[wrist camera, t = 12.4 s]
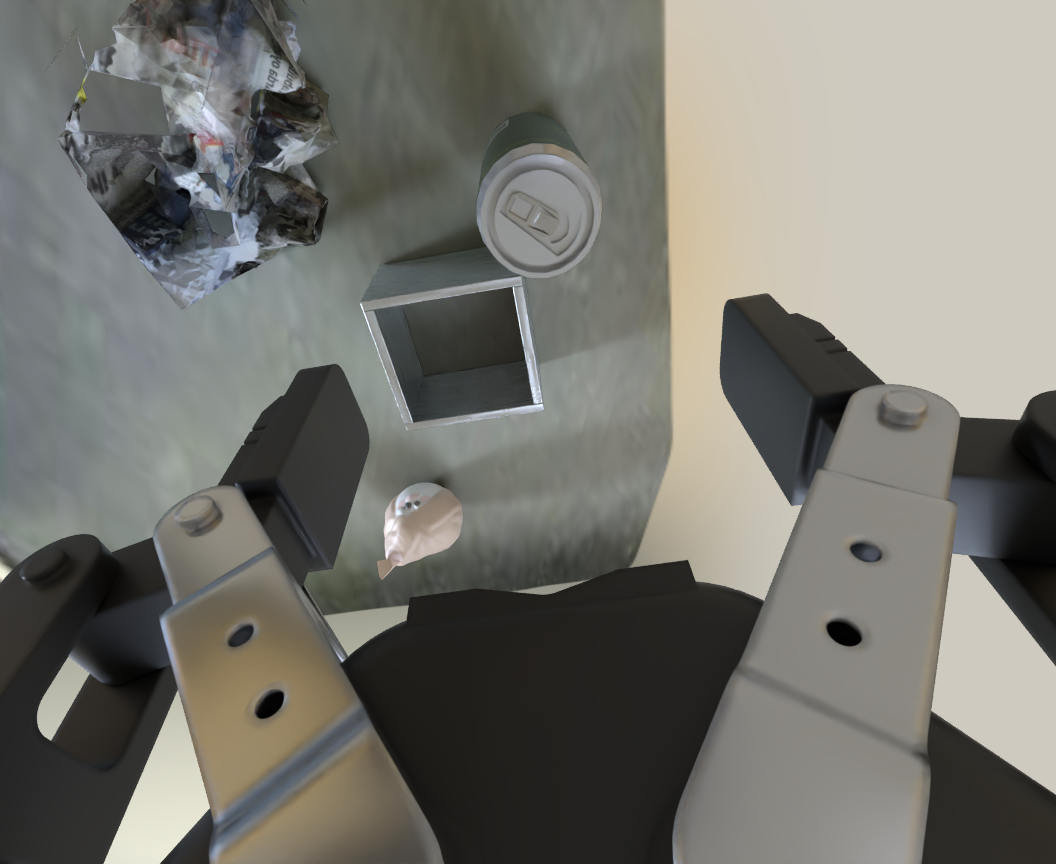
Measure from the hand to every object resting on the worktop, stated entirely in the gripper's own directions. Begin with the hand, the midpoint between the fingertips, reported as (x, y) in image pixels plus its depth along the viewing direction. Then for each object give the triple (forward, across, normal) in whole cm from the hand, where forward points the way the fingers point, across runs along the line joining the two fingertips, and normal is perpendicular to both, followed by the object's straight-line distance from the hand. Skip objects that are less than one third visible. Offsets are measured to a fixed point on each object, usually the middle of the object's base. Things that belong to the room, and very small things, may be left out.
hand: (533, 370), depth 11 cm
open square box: (+25, +5, +10) cm, 27 cm away
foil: (+25, +15, -3) cm, 30 cm away
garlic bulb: (+25, +12, +26) cm, 38 cm away
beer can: (+25, -1, +1) cm, 25 cm away
